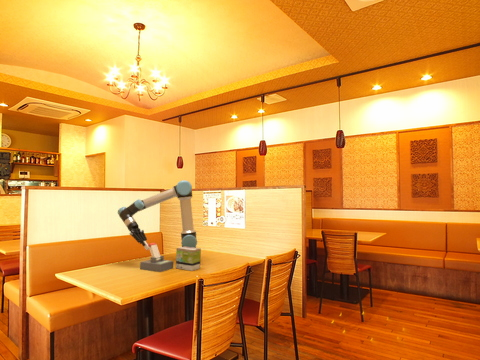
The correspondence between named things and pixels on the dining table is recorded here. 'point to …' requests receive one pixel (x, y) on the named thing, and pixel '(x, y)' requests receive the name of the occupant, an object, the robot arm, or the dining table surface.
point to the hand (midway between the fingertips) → (148, 248)
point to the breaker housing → (156, 264)
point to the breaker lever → (154, 251)
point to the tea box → (188, 258)
